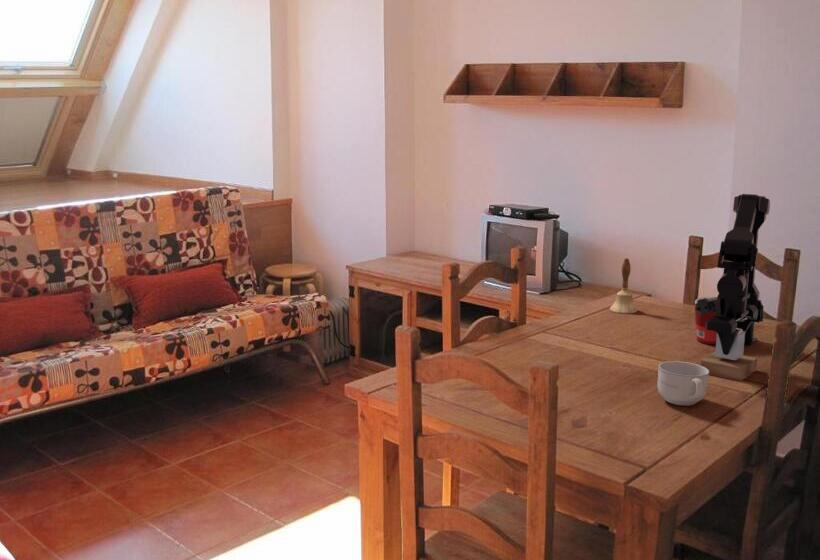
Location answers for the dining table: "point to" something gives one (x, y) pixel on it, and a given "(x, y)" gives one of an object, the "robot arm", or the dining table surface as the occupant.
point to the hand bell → (624, 293)
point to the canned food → (704, 326)
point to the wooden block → (729, 366)
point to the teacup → (682, 382)
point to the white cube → (736, 347)
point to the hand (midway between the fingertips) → (729, 351)
